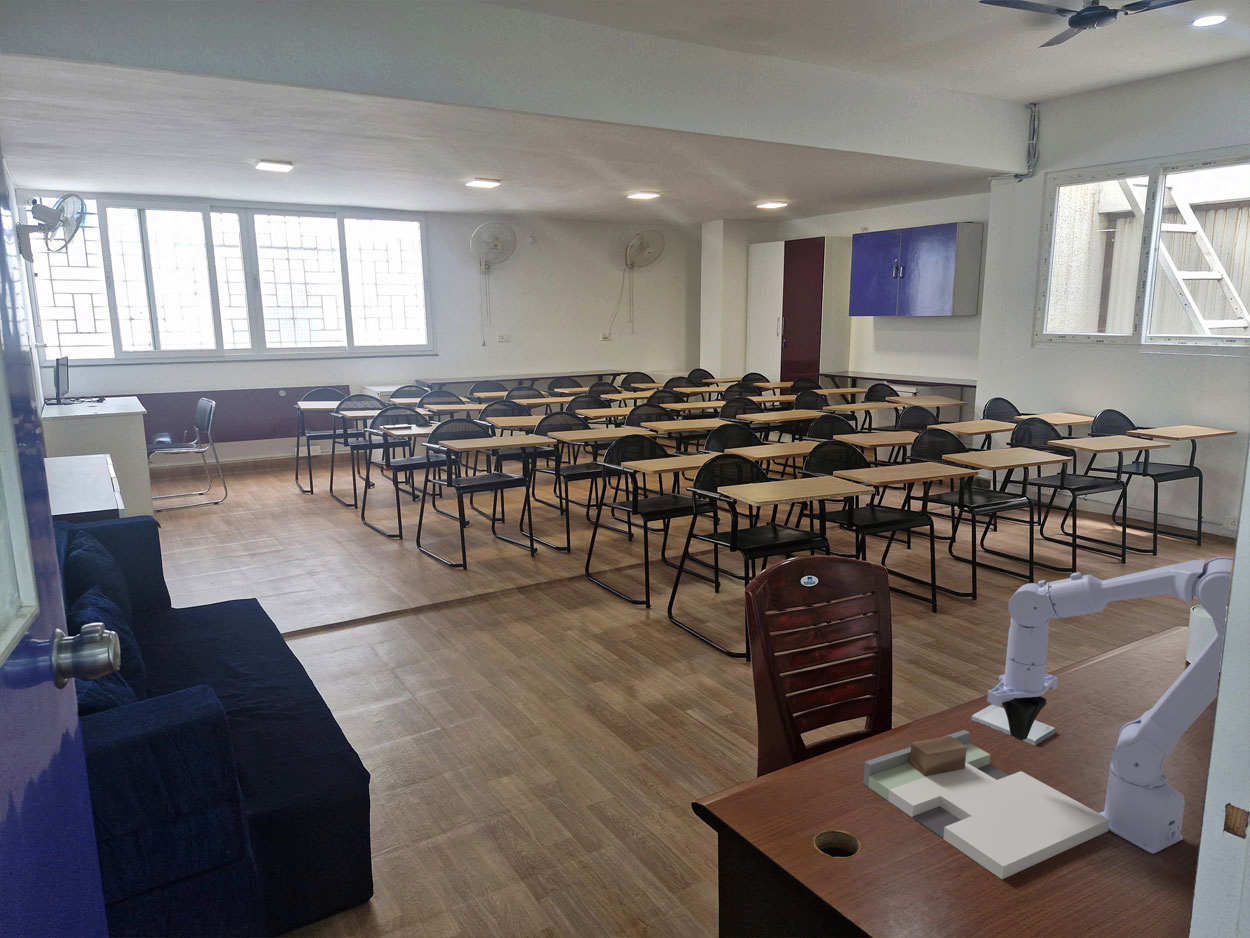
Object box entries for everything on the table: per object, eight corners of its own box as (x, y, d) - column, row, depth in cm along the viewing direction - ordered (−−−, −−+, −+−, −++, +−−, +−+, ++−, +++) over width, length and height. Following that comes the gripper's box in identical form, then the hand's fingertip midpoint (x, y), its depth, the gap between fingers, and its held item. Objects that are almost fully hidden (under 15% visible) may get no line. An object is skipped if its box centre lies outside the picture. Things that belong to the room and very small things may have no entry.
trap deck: (1108, 831, 121) (1111, 807, 121) (1001, 879, 110) (1004, 853, 110) (962, 750, 145) (964, 729, 144) (863, 783, 134) (864, 761, 133)
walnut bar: (964, 768, 135) (966, 746, 134) (925, 776, 132) (926, 754, 132) (948, 757, 138) (950, 735, 138) (909, 764, 136) (911, 742, 135)
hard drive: (1056, 727, 151) (993, 702, 161) (1035, 740, 146) (971, 714, 156) (1056, 735, 151) (992, 710, 161) (1034, 748, 146) (970, 722, 156)
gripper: (1033, 642, 135) (1025, 716, 137) (974, 657, 128) (967, 735, 131) (1072, 657, 129) (1064, 735, 131) (1012, 674, 122) (1005, 756, 125)
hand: (1018, 736), depth 131 cm, fingers closed
